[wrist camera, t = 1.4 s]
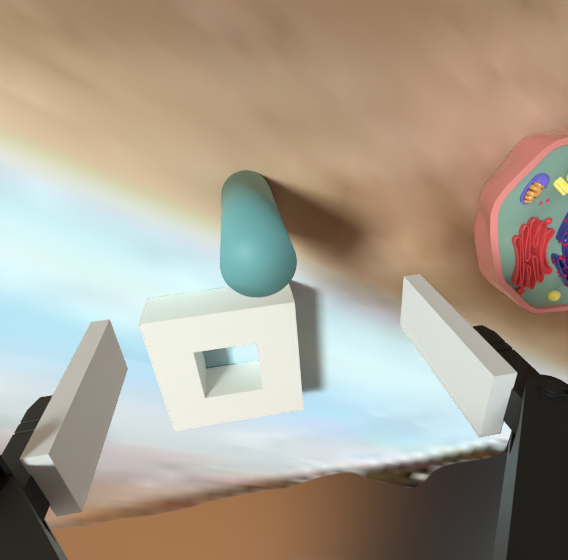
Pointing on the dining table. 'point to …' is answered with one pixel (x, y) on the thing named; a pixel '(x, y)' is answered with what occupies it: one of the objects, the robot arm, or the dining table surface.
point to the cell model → (527, 224)
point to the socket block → (215, 335)
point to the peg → (254, 238)
